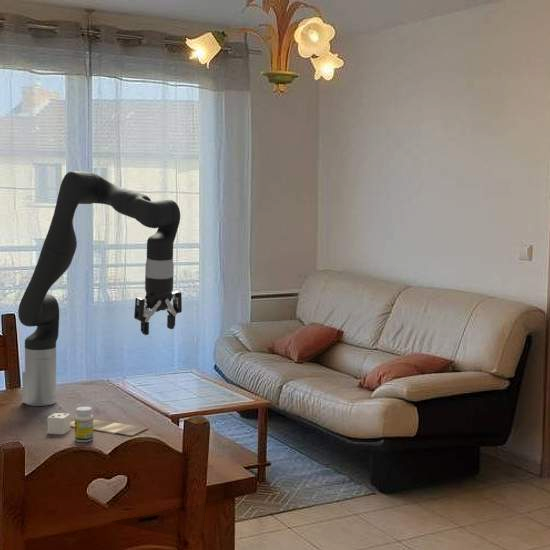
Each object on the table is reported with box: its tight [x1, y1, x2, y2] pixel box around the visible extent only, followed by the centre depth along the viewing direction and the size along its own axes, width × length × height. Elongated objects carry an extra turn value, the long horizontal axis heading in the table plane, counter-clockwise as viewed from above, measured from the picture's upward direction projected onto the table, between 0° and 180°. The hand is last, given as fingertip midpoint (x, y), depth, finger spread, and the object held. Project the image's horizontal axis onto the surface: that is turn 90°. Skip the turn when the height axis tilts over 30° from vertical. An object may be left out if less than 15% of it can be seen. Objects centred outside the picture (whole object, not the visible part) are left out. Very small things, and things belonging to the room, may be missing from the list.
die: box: [47, 412, 71, 435], centre depth 219 cm, size 4×4×5 cm
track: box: [70, 418, 149, 438], centre depth 224 cm, size 22×8×1 cm, turn 66°
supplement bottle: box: [74, 406, 94, 443], centre depth 212 cm, size 5×5×8 cm
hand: (158, 331), depth 222 cm, fingers open, 8 cm apart
